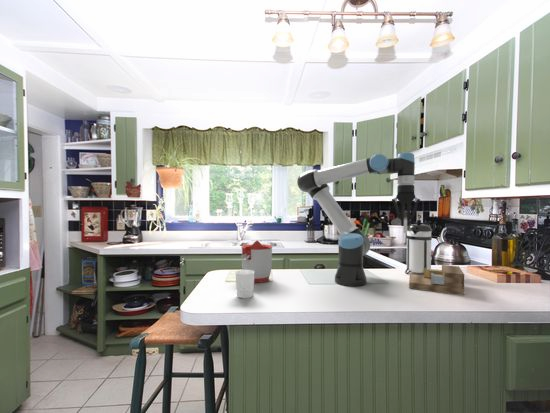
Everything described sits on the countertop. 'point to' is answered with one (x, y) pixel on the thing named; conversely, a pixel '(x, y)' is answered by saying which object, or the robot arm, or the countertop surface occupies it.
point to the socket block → (452, 284)
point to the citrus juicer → (257, 260)
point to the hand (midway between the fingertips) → (405, 232)
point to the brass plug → (428, 272)
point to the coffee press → (418, 247)
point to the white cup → (245, 283)
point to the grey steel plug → (437, 279)
